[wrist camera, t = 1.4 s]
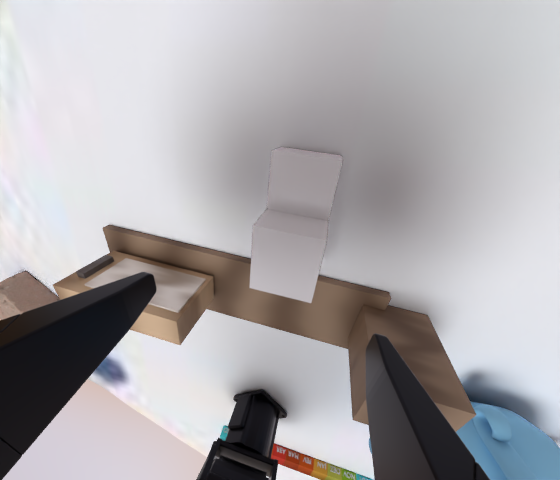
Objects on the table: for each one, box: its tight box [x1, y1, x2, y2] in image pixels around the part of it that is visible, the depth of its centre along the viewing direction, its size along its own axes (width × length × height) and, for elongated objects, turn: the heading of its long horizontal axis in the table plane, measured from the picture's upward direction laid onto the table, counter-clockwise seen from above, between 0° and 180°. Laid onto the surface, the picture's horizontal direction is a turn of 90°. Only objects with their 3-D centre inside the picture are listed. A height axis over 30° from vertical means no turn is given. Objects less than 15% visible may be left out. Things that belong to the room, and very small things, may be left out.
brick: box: [0, 271, 60, 320], centre depth 34 cm, size 17×8×5 cm, turn 37°
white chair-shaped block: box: [249, 147, 343, 303], centre depth 16 cm, size 4×9×6 cm, turn 174°
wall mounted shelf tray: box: [53, 251, 214, 345], centre depth 21 cm, size 12×4×6 cm, turn 83°
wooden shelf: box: [103, 225, 476, 432], centre depth 20 cm, size 34×8×8 cm, turn 83°
